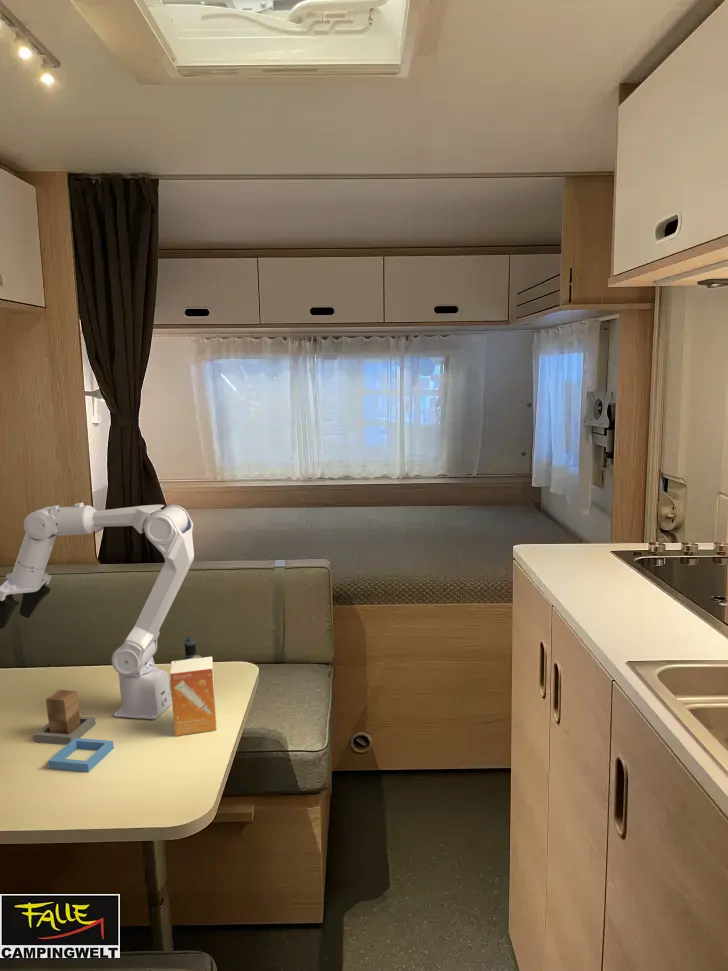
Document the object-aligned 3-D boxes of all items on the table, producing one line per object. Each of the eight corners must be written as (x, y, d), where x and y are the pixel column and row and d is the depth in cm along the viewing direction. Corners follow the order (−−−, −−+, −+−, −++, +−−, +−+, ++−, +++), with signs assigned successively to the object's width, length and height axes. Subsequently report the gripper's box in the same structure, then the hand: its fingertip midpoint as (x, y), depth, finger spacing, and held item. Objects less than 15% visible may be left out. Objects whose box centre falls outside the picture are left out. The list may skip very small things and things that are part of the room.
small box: (174, 737, 134) (169, 673, 132) (175, 721, 140) (170, 660, 138) (217, 731, 136) (212, 667, 134) (217, 715, 142) (212, 655, 140)
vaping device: (195, 685, 157) (191, 634, 155) (208, 691, 153) (204, 640, 151) (185, 688, 155) (181, 637, 153) (198, 696, 151) (193, 643, 149)
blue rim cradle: (113, 748, 131) (113, 740, 131) (88, 772, 123) (87, 764, 123) (76, 745, 132) (75, 737, 132) (48, 768, 125) (47, 760, 125)
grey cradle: (95, 724, 140) (95, 717, 140) (71, 744, 133) (70, 737, 132) (60, 721, 142) (59, 714, 142) (34, 741, 134) (33, 734, 134)
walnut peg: (81, 728, 139) (76, 690, 138) (68, 738, 135) (64, 700, 134) (63, 727, 140) (58, 689, 138) (50, 737, 136) (45, 699, 135)
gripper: (38, 548, 150) (19, 603, 152) (-11, 561, 136) (-31, 622, 138) (66, 561, 149) (46, 617, 151) (19, 577, 134) (-1, 638, 137)
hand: (11, 621), depth 144 cm, fingers open, 7 cm apart
